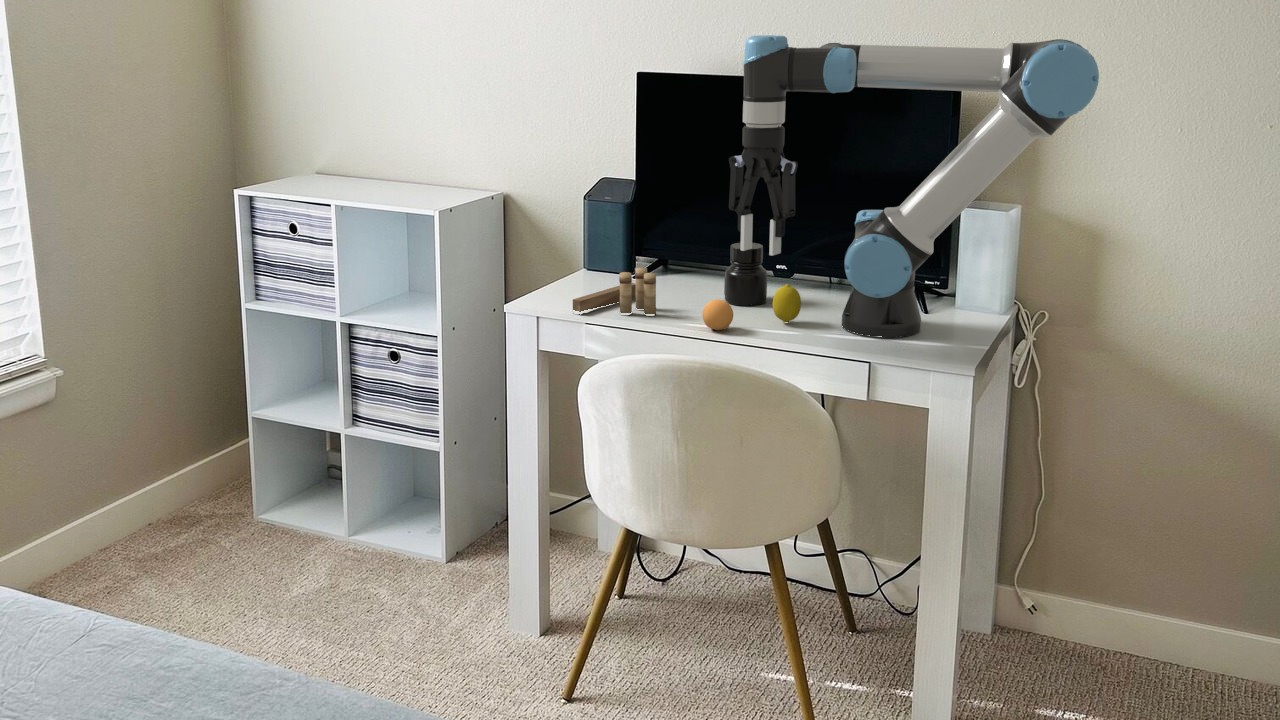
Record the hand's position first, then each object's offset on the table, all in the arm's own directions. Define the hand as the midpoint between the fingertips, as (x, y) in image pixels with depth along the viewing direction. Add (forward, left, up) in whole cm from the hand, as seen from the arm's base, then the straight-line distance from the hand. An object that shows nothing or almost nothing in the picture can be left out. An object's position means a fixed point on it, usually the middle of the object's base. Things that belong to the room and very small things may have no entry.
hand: (760, 251), depth 216 cm
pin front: (+27, 0, -17) cm, 31 cm away
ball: (+10, 0, -14) cm, 17 cm away
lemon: (+2, -12, -17) cm, 21 cm away
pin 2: (+31, -2, -17) cm, 35 cm away
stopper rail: (+39, 0, -17) cm, 42 cm away
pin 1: (+31, +3, -17) cm, 35 cm away
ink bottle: (+18, -21, -17) cm, 32 cm away
